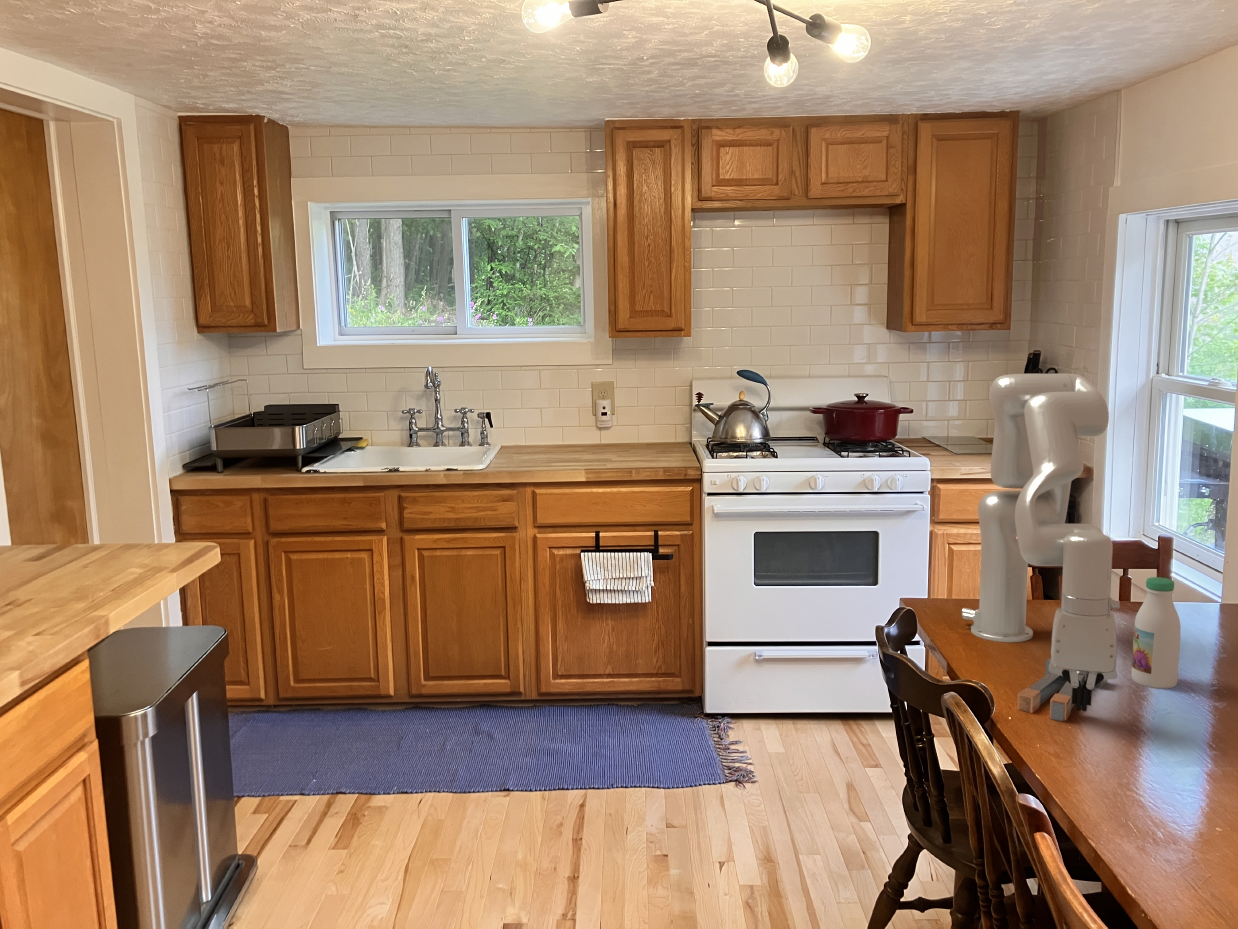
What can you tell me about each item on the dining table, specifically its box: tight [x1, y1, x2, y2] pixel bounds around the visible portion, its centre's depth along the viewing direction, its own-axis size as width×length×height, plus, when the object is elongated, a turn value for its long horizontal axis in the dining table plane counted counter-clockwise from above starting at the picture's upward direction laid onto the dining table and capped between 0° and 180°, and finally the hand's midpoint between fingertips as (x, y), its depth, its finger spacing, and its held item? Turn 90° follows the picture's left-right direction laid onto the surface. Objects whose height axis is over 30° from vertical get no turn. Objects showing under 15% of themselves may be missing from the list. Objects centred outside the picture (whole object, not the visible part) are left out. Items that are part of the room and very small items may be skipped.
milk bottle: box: [1131, 576, 1181, 690], centre depth 188 cm, size 8×8×20 cm
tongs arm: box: [1049, 671, 1087, 722], centre depth 180 cm, size 19×3×3 cm, turn 144°
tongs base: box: [1016, 657, 1109, 714], centre depth 183 cm, size 10×23×4 cm, turn 137°
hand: (1081, 708), depth 173 cm, fingers closed
